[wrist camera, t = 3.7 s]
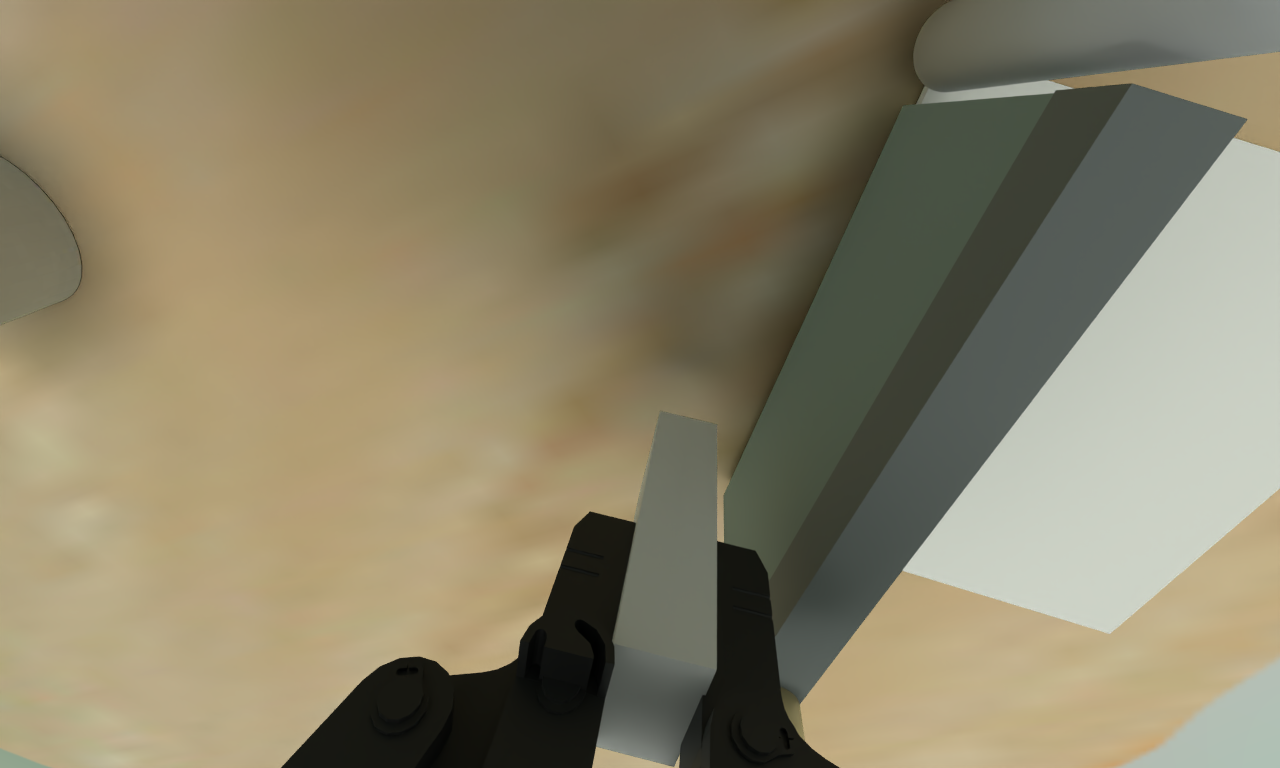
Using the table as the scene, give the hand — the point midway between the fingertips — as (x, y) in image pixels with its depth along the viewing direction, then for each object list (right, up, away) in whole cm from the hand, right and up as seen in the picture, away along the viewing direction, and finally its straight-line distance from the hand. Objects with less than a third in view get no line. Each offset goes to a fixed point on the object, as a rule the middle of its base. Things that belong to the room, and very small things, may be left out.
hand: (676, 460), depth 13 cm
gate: (+5, +4, +3) cm, 7 cm away
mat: (+13, +1, +4) cm, 14 cm away
